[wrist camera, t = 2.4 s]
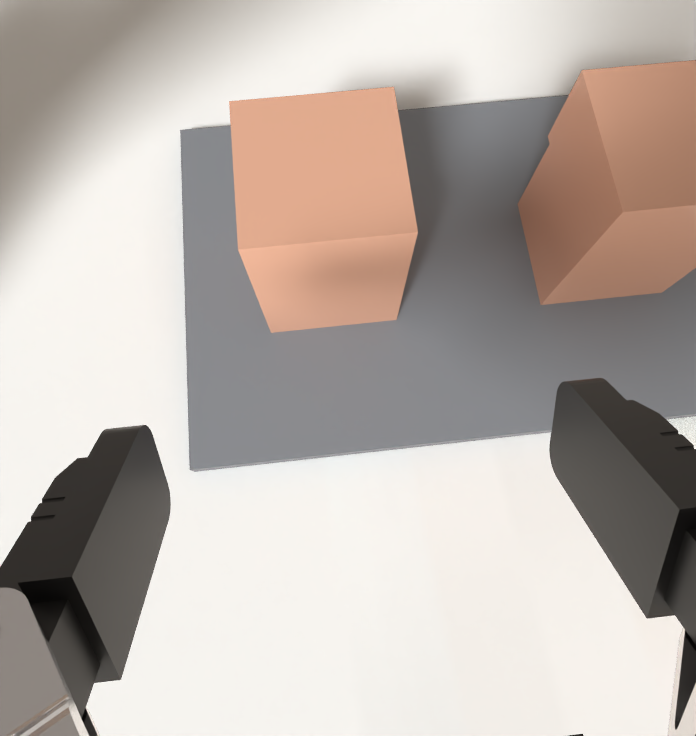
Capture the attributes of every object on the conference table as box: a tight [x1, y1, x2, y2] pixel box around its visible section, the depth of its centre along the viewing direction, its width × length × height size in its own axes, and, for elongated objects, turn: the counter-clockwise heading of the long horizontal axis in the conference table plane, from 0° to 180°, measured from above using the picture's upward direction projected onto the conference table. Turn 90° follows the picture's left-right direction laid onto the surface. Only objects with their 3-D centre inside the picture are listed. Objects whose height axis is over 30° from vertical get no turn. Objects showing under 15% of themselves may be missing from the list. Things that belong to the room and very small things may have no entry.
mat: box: [180, 95, 696, 471], centre depth 27 cm, size 26×18×1 cm
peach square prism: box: [229, 87, 418, 333], centre depth 22 cm, size 6×6×8 cm
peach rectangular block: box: [518, 60, 696, 305], centre depth 23 cm, size 6×6×8 cm
